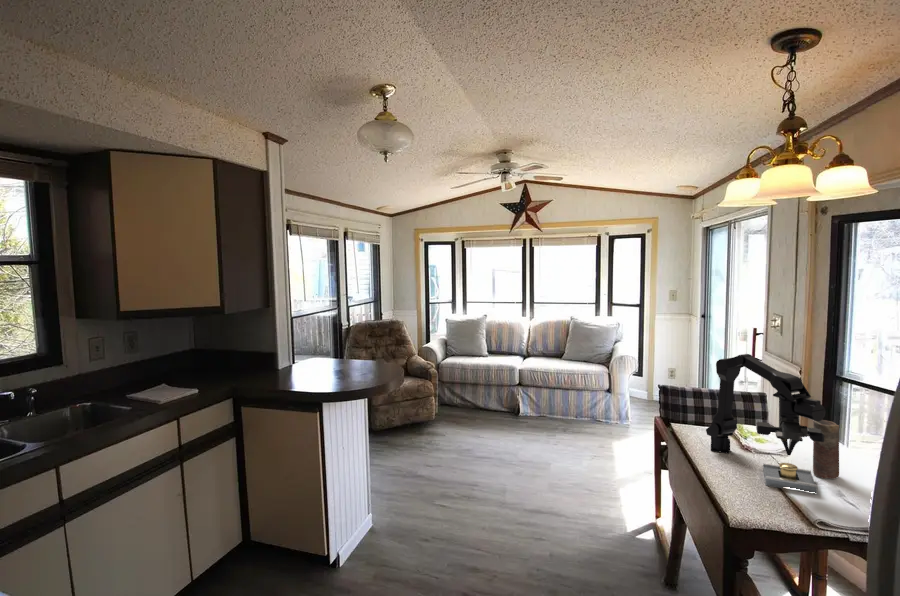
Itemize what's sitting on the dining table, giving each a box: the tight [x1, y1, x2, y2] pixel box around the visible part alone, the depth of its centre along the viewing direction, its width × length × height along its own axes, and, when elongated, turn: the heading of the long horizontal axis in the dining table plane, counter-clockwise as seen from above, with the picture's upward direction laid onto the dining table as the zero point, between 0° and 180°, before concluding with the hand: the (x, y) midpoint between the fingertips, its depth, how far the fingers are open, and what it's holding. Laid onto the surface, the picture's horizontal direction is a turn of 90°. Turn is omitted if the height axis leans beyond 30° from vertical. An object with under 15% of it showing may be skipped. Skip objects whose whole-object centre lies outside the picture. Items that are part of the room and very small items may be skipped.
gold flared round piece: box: [778, 462, 799, 480], centre depth 159 cm, size 5×5×6 cm
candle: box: [812, 419, 840, 480], centre depth 162 cm, size 8×7×20 cm
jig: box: [762, 462, 818, 493], centre depth 159 cm, size 14×12×3 cm
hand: (788, 454), depth 159 cm, fingers closed
